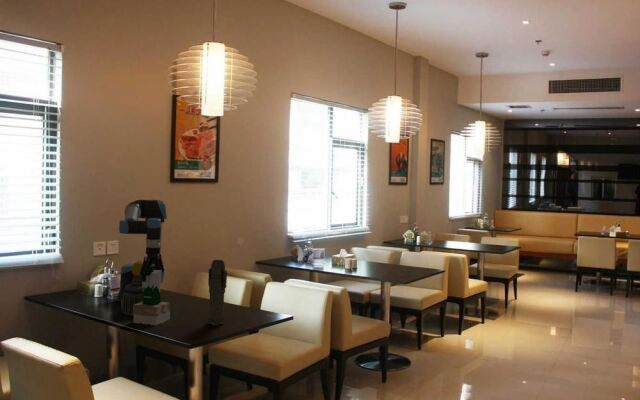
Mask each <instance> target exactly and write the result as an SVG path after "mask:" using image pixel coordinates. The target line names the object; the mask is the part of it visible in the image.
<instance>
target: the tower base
mask: <svg viewBox="0 0 640 400" xmlns="http://www.w3.org/2000/svg"><path fill="white" fill-rule="evenodd" d="M169 319H171V311H170V312H167V313H165V314H162V315H159V316H157V317H152V316H144V315H136V314H134V316H133V323H134V324H140V323H142V324H141V325H148V324H150V326H151V325H152V326H159V325H161V324H163V323H165V321H166V322H167V320H168V321H170V320H169ZM160 323H161V324H160ZM158 324H159V325H158Z"/></svg>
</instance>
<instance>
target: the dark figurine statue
mask: <svg viewBox="0 0 640 400" xmlns="http://www.w3.org/2000/svg"><path fill="white" fill-rule="evenodd" d="M227 280H228V271H227V269H226V263H225V261H224V260H222V259H214V260H212V261H211V265H210V267H209V269H208V279H207V281H208V282H207V283H208V287H209V288H208V293H209V302H208V303H209V305H208V308H209V309H208V311H207V323H208V322H209V323H214V324H218V323H222V322H225V321H224V320H225V307H224V306H225V304H224V303H225V293H226V288H227V282H228V281H227Z"/></svg>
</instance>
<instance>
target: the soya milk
mask: <svg viewBox="0 0 640 400" xmlns="http://www.w3.org/2000/svg"><path fill="white" fill-rule="evenodd" d="M161 271H162V270H153V267H150V269H149V271H148V273H147V276H148V284H147V288H143V304H145V305H156V304H158V303H161V302H162V298H161V284H160V277H161Z"/></svg>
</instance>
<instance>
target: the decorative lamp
mask: <svg viewBox="0 0 640 400" xmlns="http://www.w3.org/2000/svg"><path fill="white" fill-rule="evenodd" d="M133 263H134V264H133V266H132V273H133V274H134V276H133V277H134V278H133V279H132V281H133V282H132V283H131V284H129V285H127V286H125V291H123V294H122V300H121V302H120V303H121V306H120V307H121V308H120V310H121V312H122V314H123V315H125V316H129V317H134V314H133V305H135V304H138V303H141V302H143V287H142V275H140V271H141V268H142V264H143V261H142V260H141V261H136V262H133Z"/></svg>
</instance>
